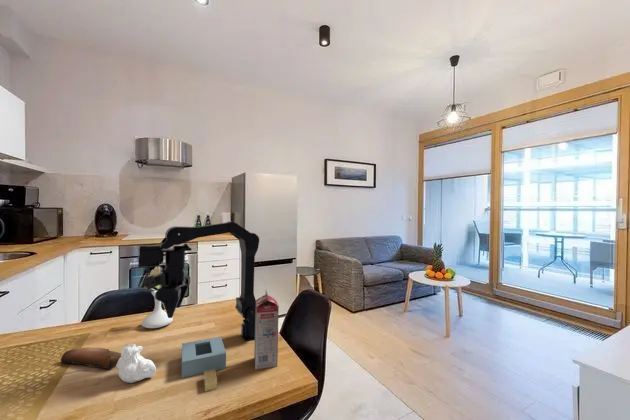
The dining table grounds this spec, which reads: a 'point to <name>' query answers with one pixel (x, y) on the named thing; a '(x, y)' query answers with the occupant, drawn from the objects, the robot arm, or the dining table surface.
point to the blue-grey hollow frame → (203, 356)
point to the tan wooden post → (210, 380)
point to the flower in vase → (156, 310)
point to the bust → (134, 364)
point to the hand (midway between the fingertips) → (174, 312)
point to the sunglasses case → (92, 357)
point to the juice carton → (266, 332)
